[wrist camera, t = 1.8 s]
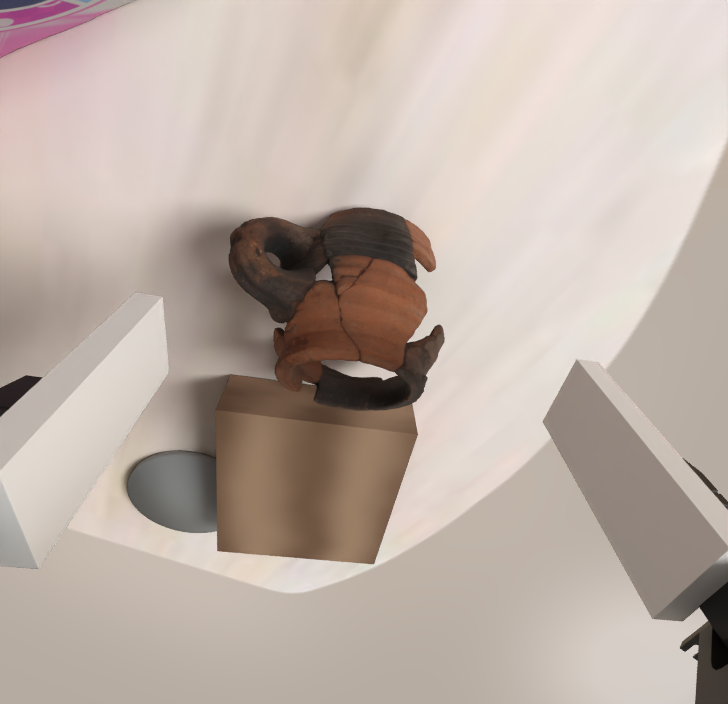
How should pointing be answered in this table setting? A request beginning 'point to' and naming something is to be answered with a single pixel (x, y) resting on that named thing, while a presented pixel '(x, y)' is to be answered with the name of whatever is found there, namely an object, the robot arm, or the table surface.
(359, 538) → the plinth
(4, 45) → the gum box
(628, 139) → the table surface
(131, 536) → the table surface
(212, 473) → the coaster
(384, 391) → the pottery mug
